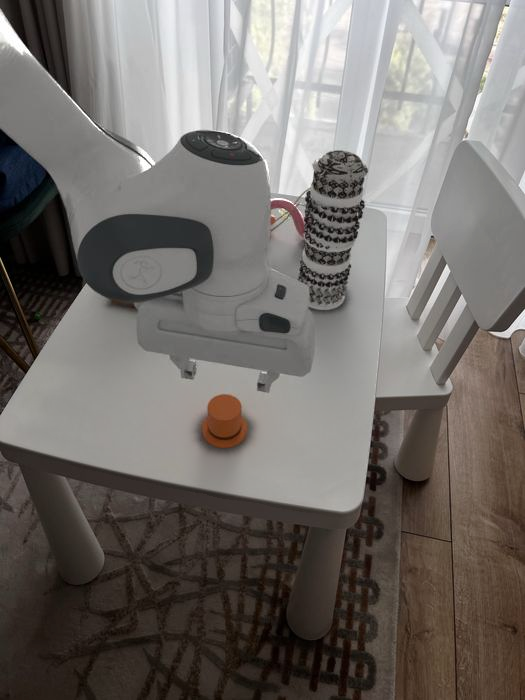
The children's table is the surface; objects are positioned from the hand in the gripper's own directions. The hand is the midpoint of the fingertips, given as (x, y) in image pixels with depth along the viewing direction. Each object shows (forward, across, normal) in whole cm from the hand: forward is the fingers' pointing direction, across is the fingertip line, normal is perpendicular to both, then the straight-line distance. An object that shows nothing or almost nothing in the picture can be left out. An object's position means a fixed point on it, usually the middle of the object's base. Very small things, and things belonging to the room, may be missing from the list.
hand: (226, 381), depth 65 cm
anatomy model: (+10, +2, +50) cm, 51 cm away
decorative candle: (+10, +9, +32) cm, 35 cm away
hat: (+10, 0, 0) cm, 10 cm away
